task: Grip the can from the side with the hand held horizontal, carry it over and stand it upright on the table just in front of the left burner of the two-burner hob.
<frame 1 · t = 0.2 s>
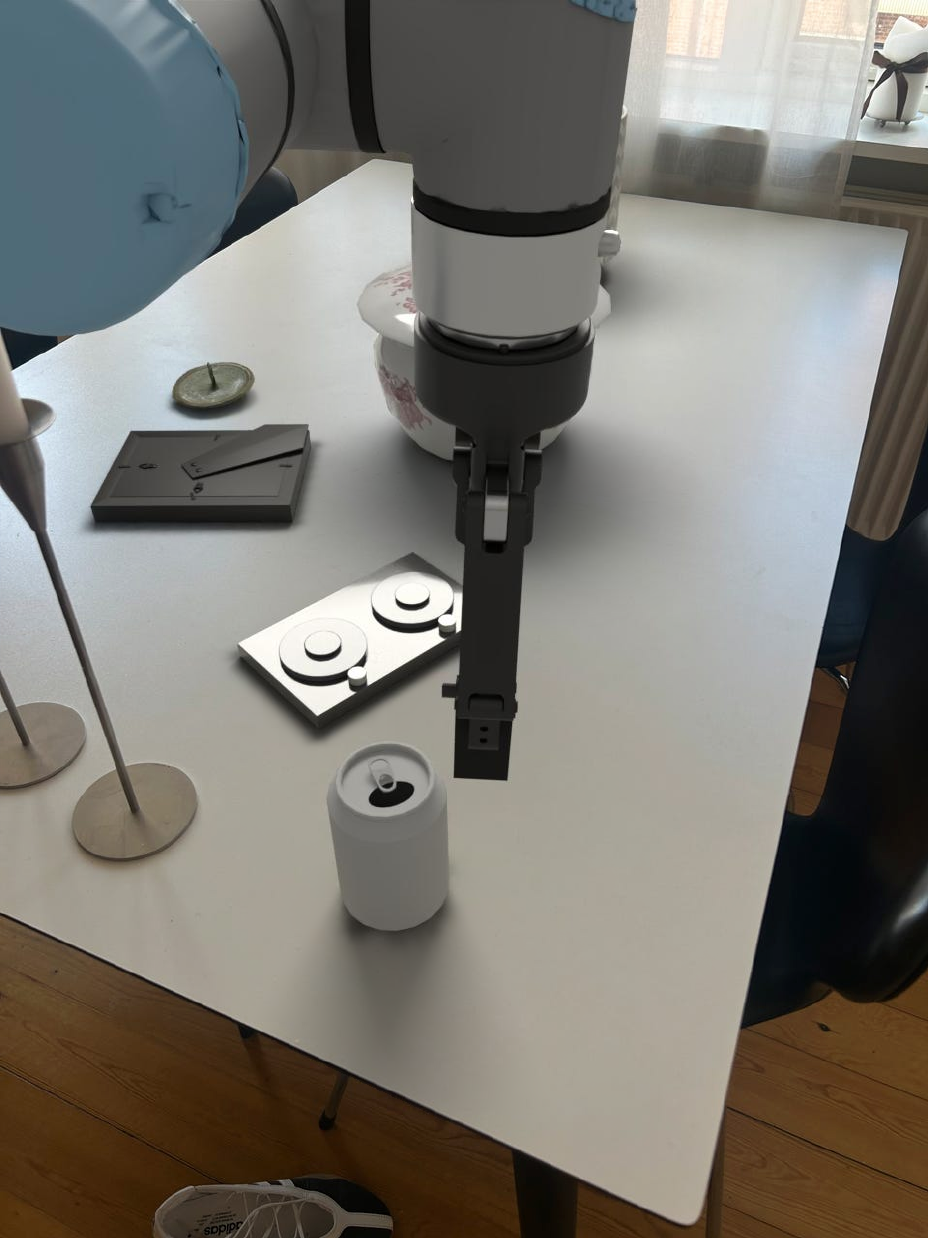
hand: (484, 678, 54), 20 cm above the table, tool pointing down, fingers open, 13 cm apart
chamber pot: (481, 436, 115), on the table
can: (395, 891, 67), on the table
hob: (370, 638, 87), on the table
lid: (215, 397, 123), on the table
picture frame: (209, 483, 107), on the table
planter: (533, 274, 154), on the table
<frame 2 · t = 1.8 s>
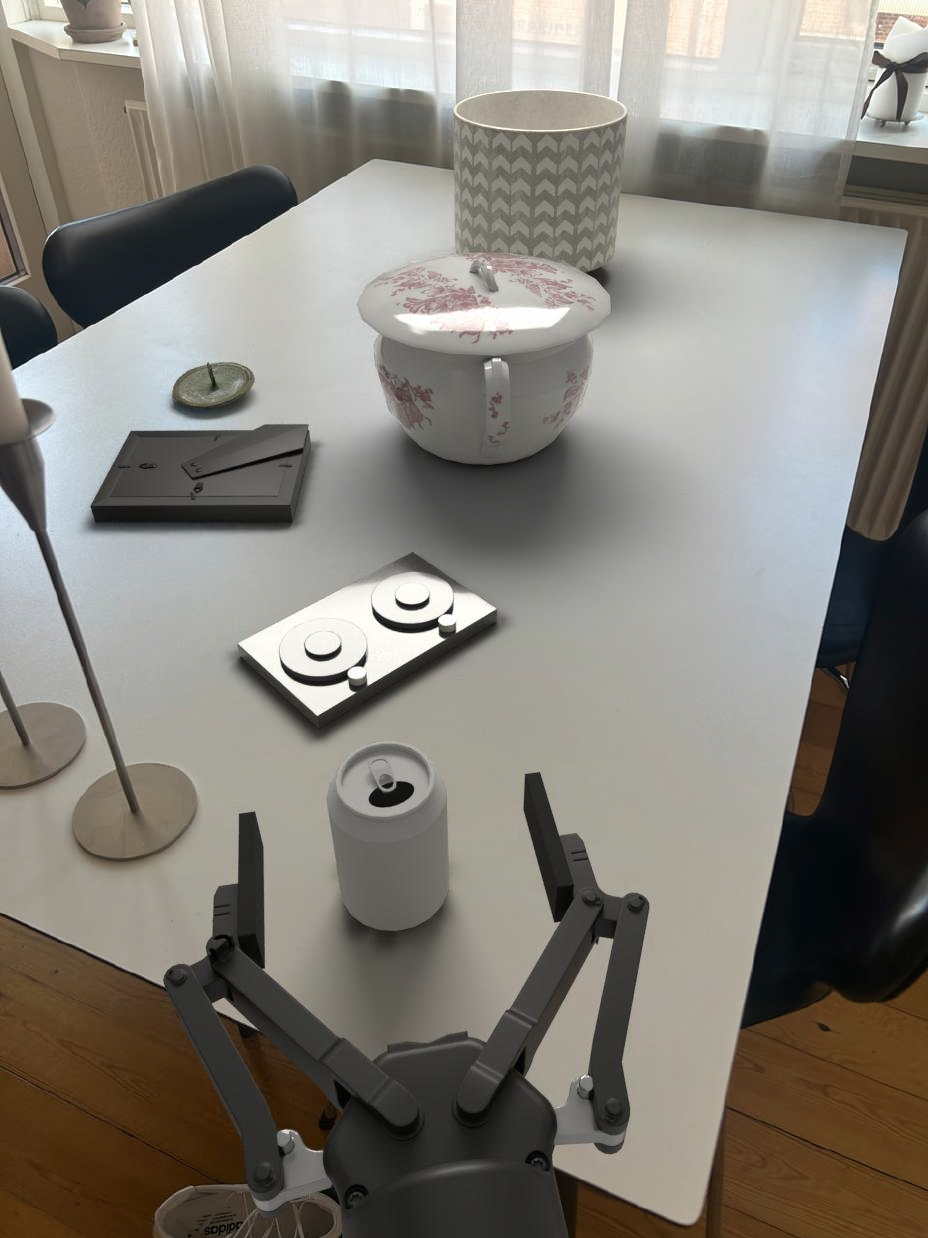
hand: (393, 809, 47), 20 cm above the table, tool horizontal, fingers open, 13 cm apart
nothing on the table moved.
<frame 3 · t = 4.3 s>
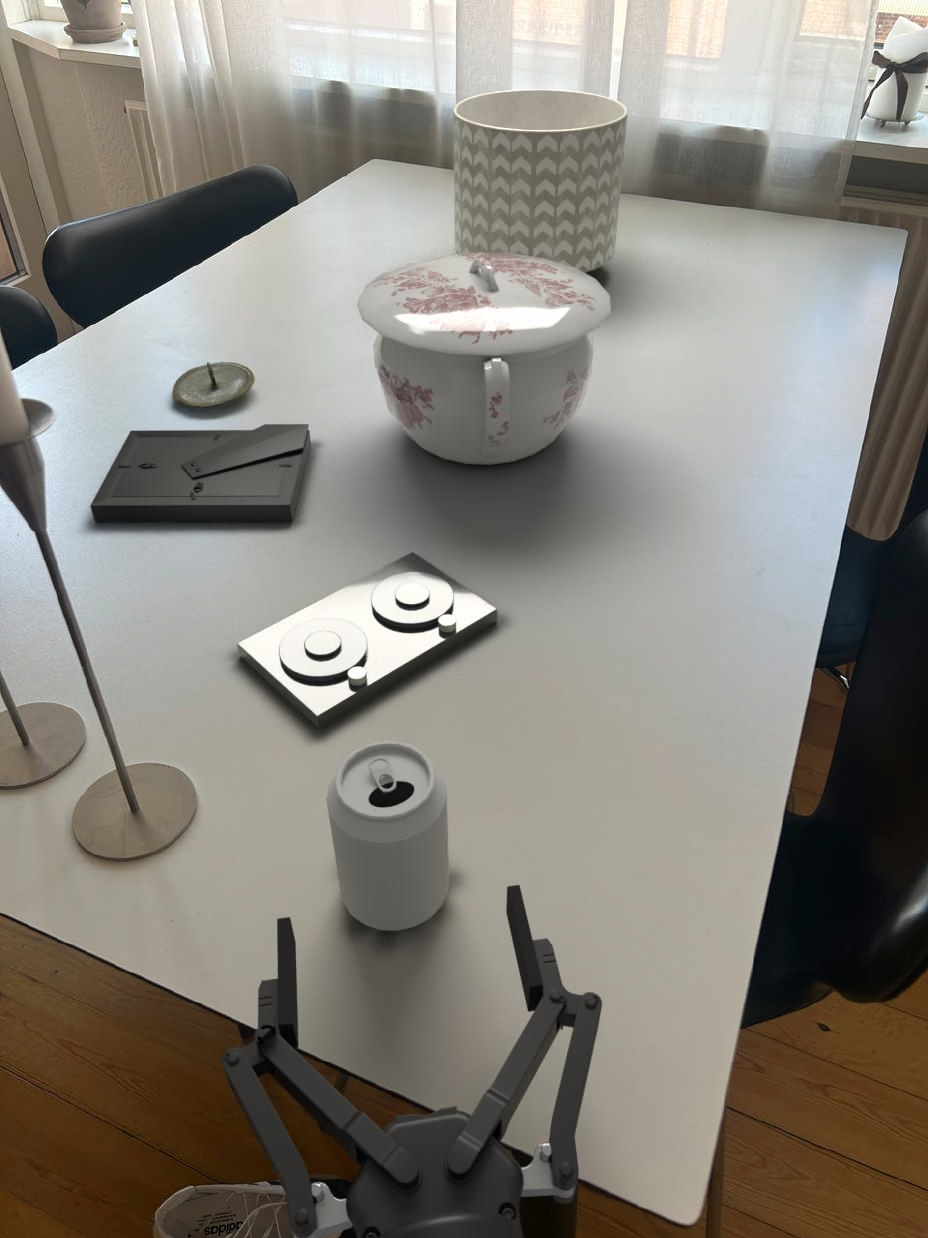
hand: (401, 913, 58), 7 cm above the table, tool horizontal, fingers open, 13 cm apart
nothing on the table moved.
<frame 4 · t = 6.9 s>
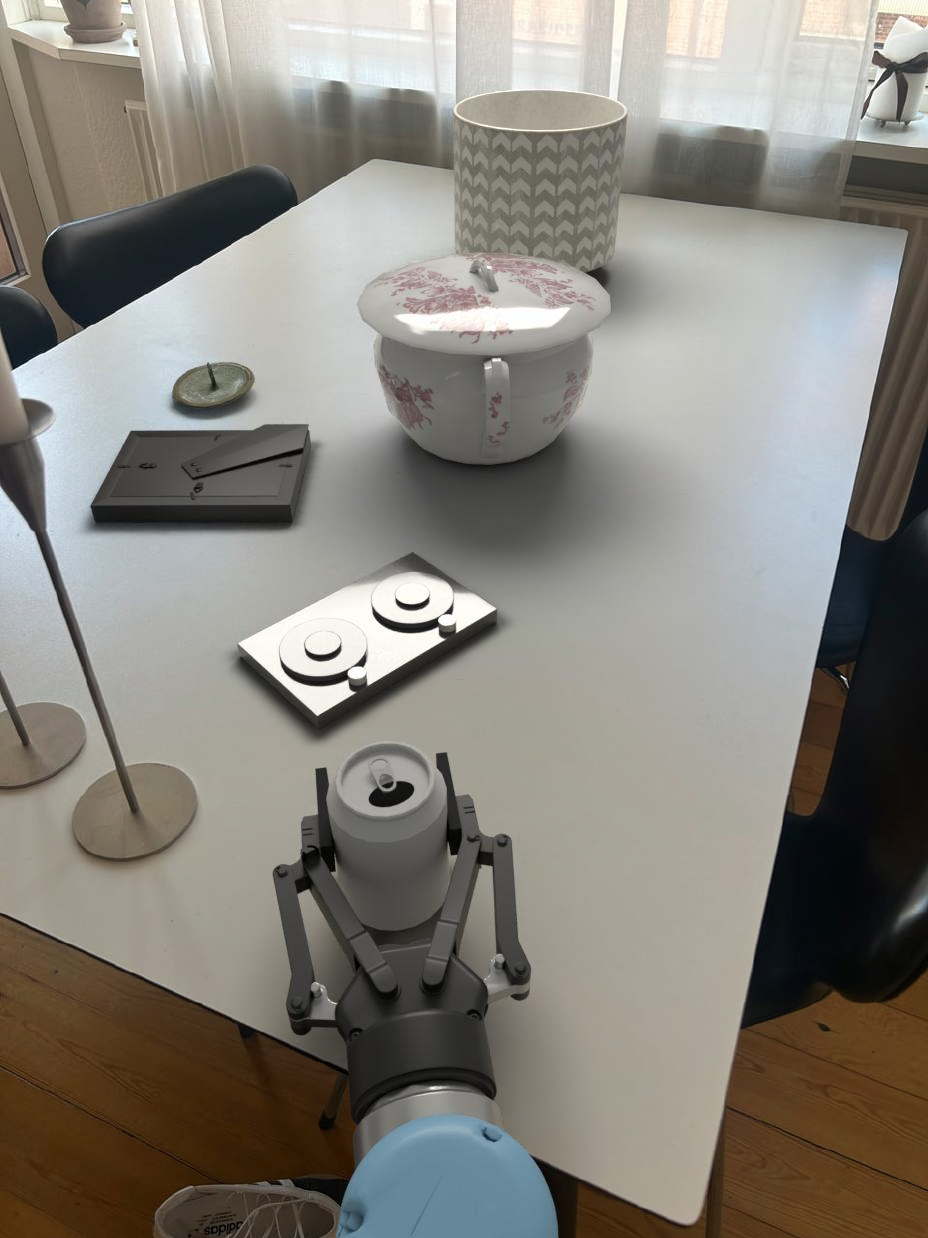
hand: (382, 773, 66), 7 cm above the table, tool horizontal, fingers closed on can, 7 cm apart
can: (395, 891, 67), on the table, touching gripper
everything else where it was.
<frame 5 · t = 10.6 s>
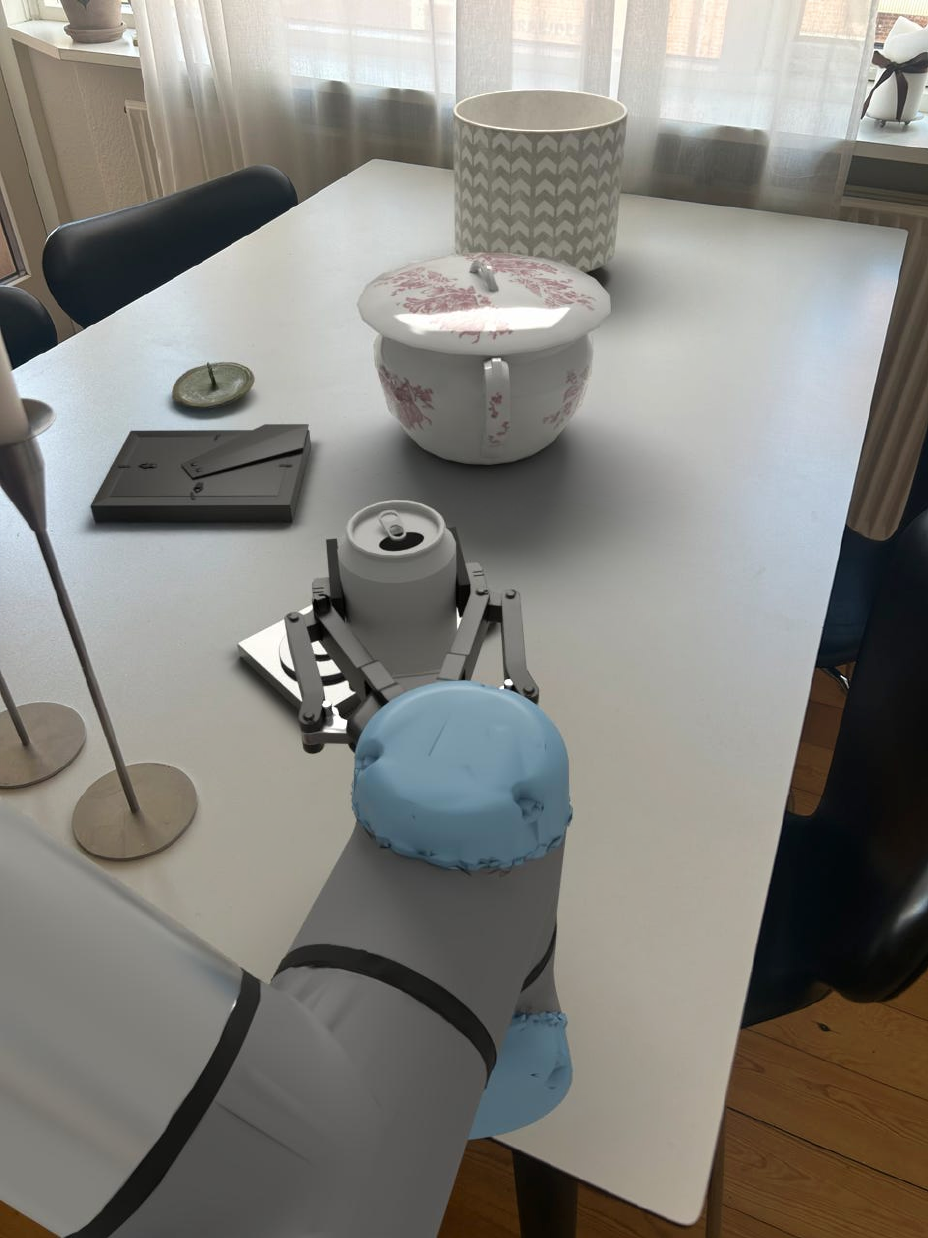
hand: (392, 549, 67), 18 cm above the table, tool horizontal, fingers closed on can, 7 cm apart
can: (404, 668, 68), point 11 cm above the table, touching gripper
everything else where it was.
when the fingers open (7 cm above the table, at t = 14.4 s): can stays where it is, on the table.
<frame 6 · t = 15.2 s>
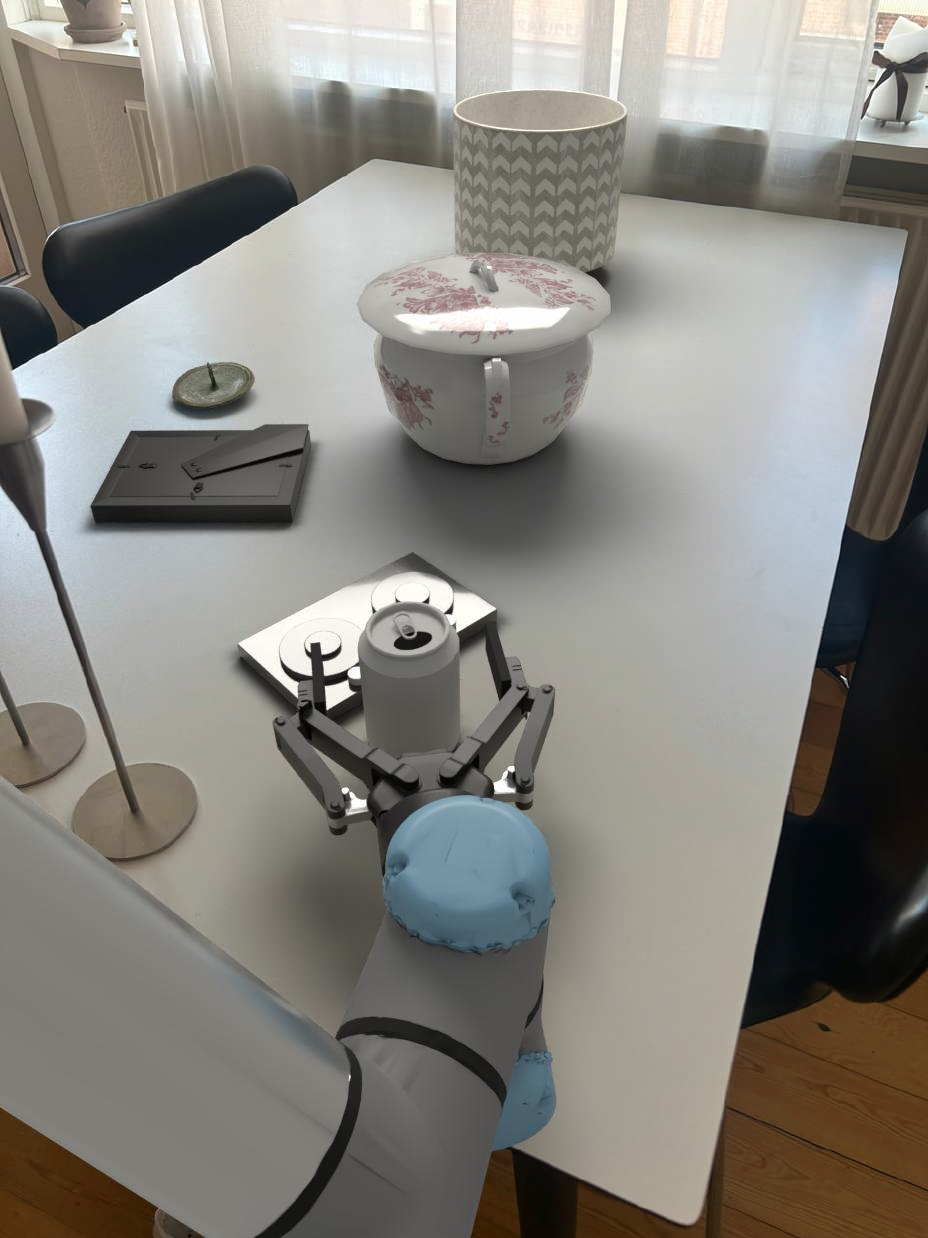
hand: (404, 645, 75), 7 cm above the table, tool horizontal, fingers open, 13 cm apart
can: (414, 740, 78), on the table
everything else where it was.
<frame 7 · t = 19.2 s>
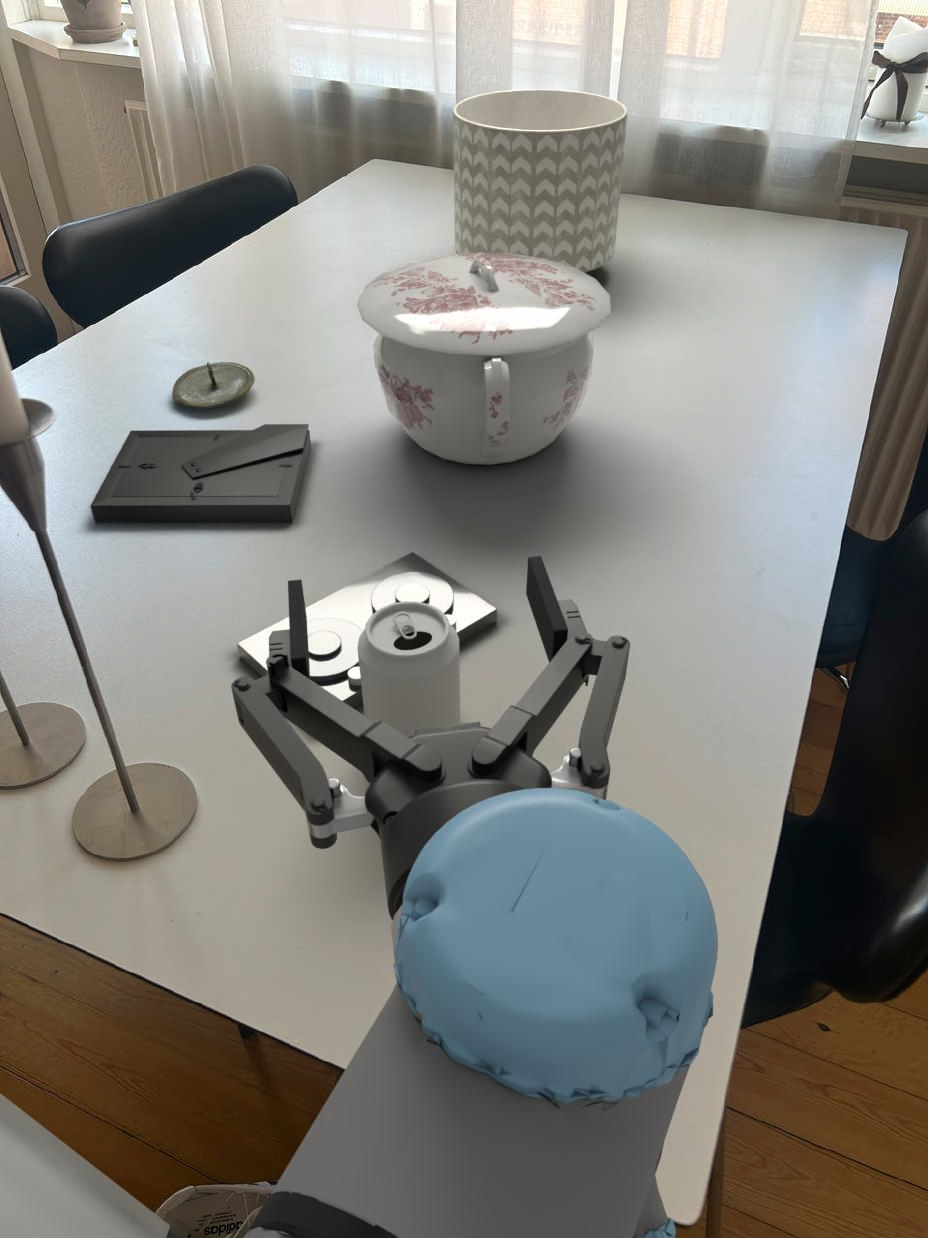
hand: (417, 586, 55), 23 cm above the table, tool horizontal, fingers open, 13 cm apart
nothing on the table moved.
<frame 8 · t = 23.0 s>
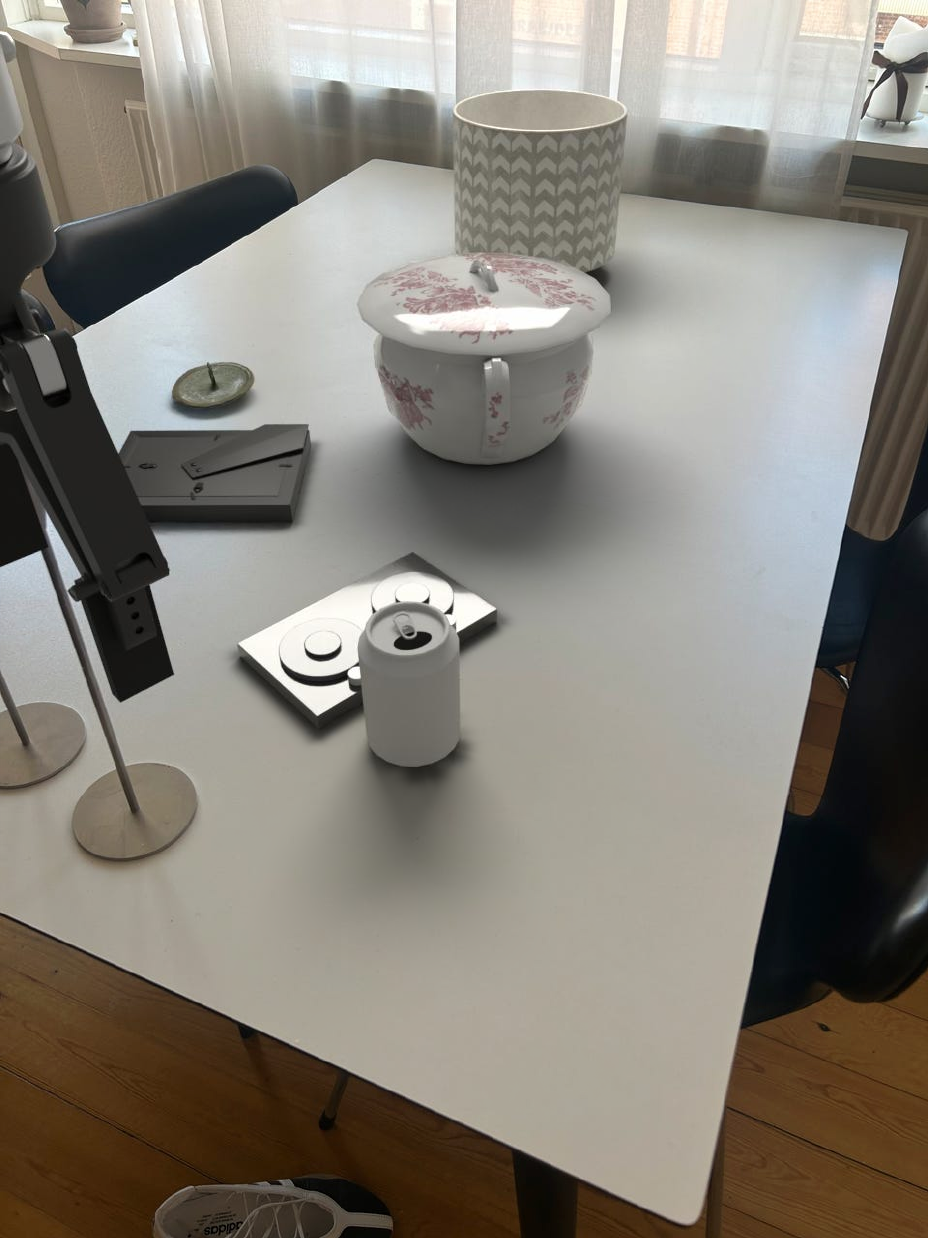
hand: (78, 614, 48), 27 cm above the table, tool pointing down, fingers open, 13 cm apart
nothing on the table moved.
at the end: can 0.2 cm from the target spot on the table beside the hob, on the table; can tilted 0°; the gripper is holding nothing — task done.
